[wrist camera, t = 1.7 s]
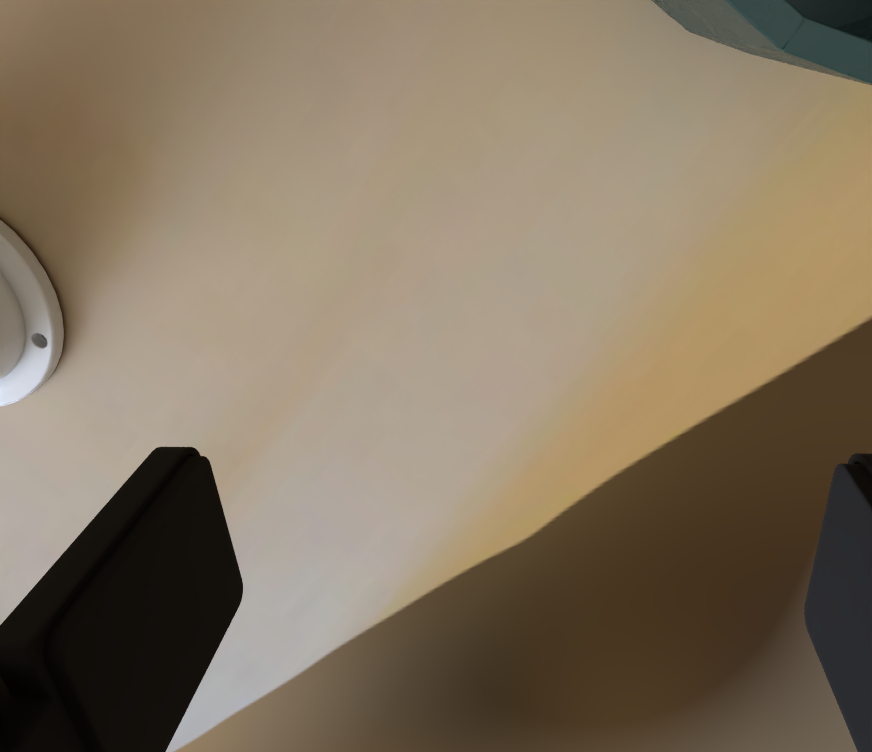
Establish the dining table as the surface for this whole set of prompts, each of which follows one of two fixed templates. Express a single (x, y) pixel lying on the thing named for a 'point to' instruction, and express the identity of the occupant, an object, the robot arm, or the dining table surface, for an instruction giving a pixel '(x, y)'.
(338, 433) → the dining table surface
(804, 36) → the tin
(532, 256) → the dining table surface
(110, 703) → the robot arm
